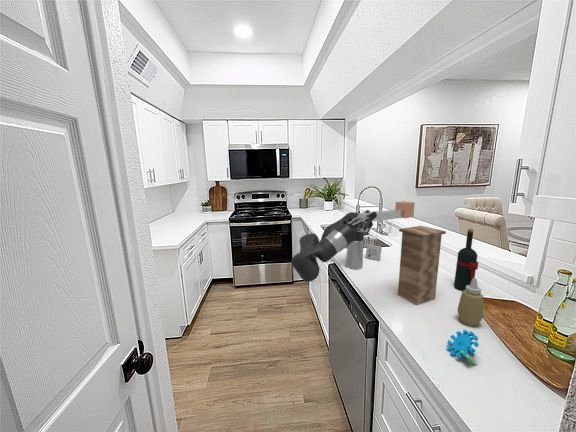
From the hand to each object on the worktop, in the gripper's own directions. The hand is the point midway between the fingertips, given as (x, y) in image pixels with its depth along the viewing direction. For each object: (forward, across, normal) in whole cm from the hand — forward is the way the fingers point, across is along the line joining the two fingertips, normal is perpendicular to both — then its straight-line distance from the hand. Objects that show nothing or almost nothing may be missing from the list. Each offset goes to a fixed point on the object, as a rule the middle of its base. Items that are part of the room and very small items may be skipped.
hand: (372, 212), depth 96 cm
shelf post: (+4, 0, +51) cm, 51 cm away
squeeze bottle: (+5, -22, +52) cm, 57 cm away
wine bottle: (+28, -5, +65) cm, 71 cm away
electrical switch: (+19, +47, +60) cm, 79 cm away
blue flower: (-12, -32, +42) cm, 54 cm away
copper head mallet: (+4, 0, +6) cm, 7 cm away
